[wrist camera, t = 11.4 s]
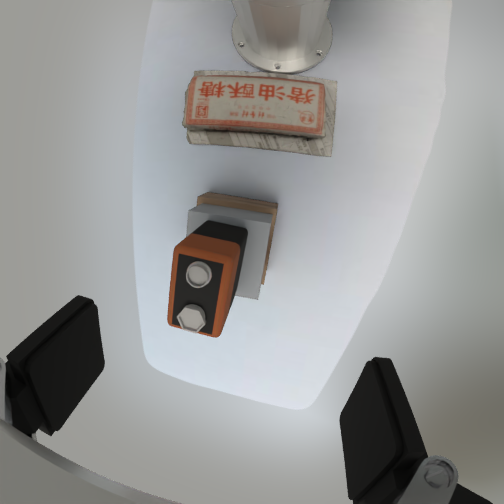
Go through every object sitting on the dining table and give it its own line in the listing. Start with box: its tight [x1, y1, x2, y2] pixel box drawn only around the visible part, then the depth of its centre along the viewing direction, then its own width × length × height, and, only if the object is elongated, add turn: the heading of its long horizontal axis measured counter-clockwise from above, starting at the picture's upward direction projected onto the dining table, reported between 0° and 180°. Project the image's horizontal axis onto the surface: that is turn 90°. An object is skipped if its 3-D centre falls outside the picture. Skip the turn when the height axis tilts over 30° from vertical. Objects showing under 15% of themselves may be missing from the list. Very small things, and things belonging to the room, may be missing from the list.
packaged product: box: [182, 71, 337, 157], centre depth 32 cm, size 18×5×10 cm
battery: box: [167, 220, 248, 337], centre depth 25 cm, size 4×7×10 cm, turn 169°
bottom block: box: [197, 192, 278, 285], centre depth 37 cm, size 9×9×5 cm
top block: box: [186, 203, 273, 300], centre depth 32 cm, size 8×8×5 cm
